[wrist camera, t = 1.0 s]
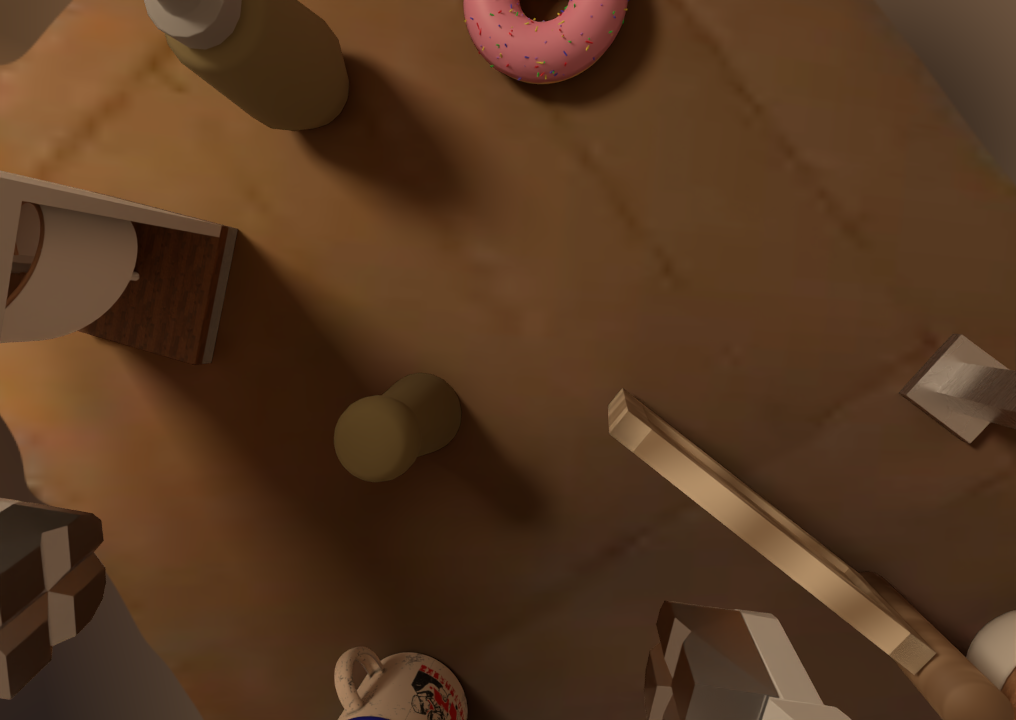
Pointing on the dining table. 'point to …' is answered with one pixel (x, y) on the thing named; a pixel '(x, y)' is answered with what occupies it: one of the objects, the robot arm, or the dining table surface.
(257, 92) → the squeeze bottle
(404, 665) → the teacup with lid
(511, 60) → the doughnut
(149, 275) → the tiered white shelf
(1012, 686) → the lidded jar
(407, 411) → the cork
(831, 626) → the dining table surface
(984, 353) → the stop post
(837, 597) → the wooden panel
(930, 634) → the hinge post
